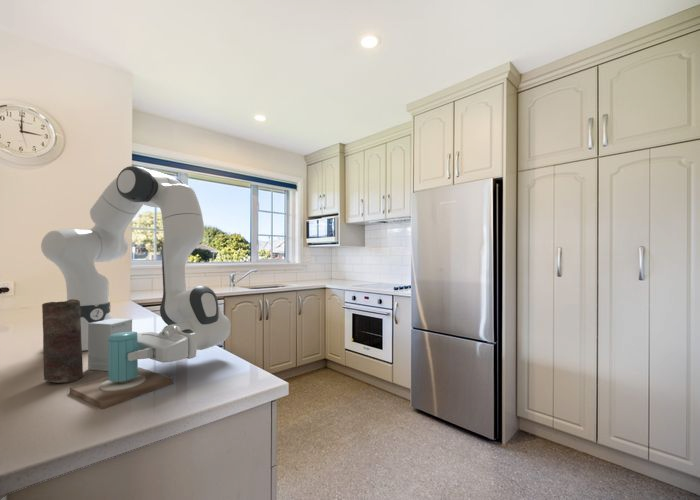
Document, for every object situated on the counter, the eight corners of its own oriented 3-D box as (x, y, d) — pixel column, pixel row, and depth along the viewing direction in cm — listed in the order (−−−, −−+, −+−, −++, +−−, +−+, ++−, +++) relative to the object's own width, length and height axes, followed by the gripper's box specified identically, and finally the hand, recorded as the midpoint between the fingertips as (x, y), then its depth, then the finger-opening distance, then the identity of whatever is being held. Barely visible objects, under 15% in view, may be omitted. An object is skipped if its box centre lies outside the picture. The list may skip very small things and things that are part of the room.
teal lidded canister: (103, 378, 78) (103, 335, 77) (129, 371, 82) (129, 330, 82) (116, 383, 75) (116, 338, 75) (142, 375, 80) (142, 333, 80)
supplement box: (109, 371, 89) (109, 324, 89) (86, 369, 90) (86, 323, 90) (133, 362, 96) (133, 318, 96) (111, 360, 98) (111, 317, 98)
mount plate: (69, 392, 76) (69, 365, 76) (139, 371, 89) (139, 348, 89) (102, 408, 68) (102, 378, 68) (172, 383, 81) (172, 357, 81)
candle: (37, 388, 78) (37, 302, 78) (48, 377, 85) (48, 298, 85) (78, 382, 82) (78, 300, 82) (86, 372, 88) (85, 296, 88)
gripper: (153, 324, 95) (97, 335, 83) (199, 333, 85) (143, 347, 73) (153, 346, 95) (97, 360, 83) (199, 358, 85) (143, 376, 73)
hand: (119, 354), depth 78 cm, fingers closed on teal lidded canister, 5 cm apart
